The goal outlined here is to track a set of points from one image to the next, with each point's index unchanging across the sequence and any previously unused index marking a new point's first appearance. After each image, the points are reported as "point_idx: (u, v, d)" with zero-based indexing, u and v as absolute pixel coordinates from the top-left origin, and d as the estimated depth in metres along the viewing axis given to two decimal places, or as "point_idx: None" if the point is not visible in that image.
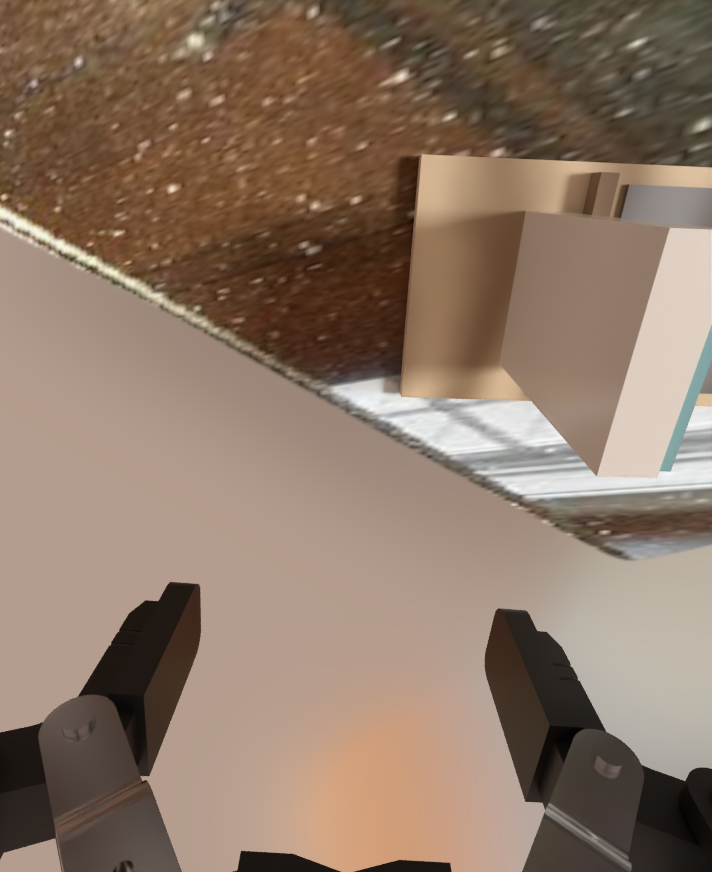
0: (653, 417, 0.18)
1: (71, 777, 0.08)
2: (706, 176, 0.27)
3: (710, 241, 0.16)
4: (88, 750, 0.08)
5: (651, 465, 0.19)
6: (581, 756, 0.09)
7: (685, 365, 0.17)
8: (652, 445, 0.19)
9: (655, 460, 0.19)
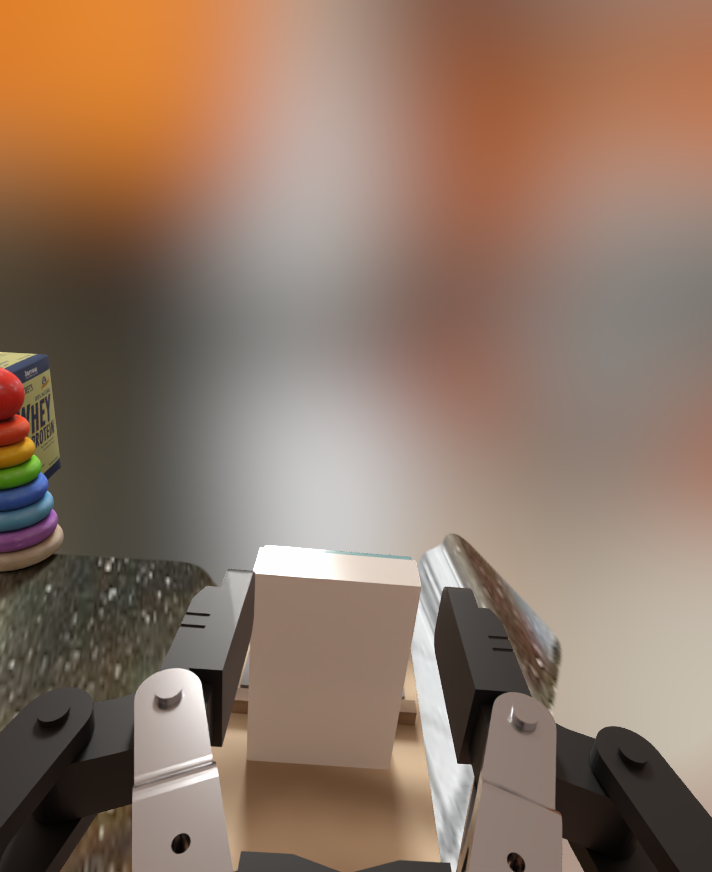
0: (372, 566, 0.28)
1: (171, 740, 0.09)
2: None
3: (263, 558, 0.28)
4: (172, 720, 0.09)
5: (407, 563, 0.28)
6: (500, 716, 0.10)
7: (336, 558, 0.28)
8: (392, 564, 0.28)
9: (403, 562, 0.28)
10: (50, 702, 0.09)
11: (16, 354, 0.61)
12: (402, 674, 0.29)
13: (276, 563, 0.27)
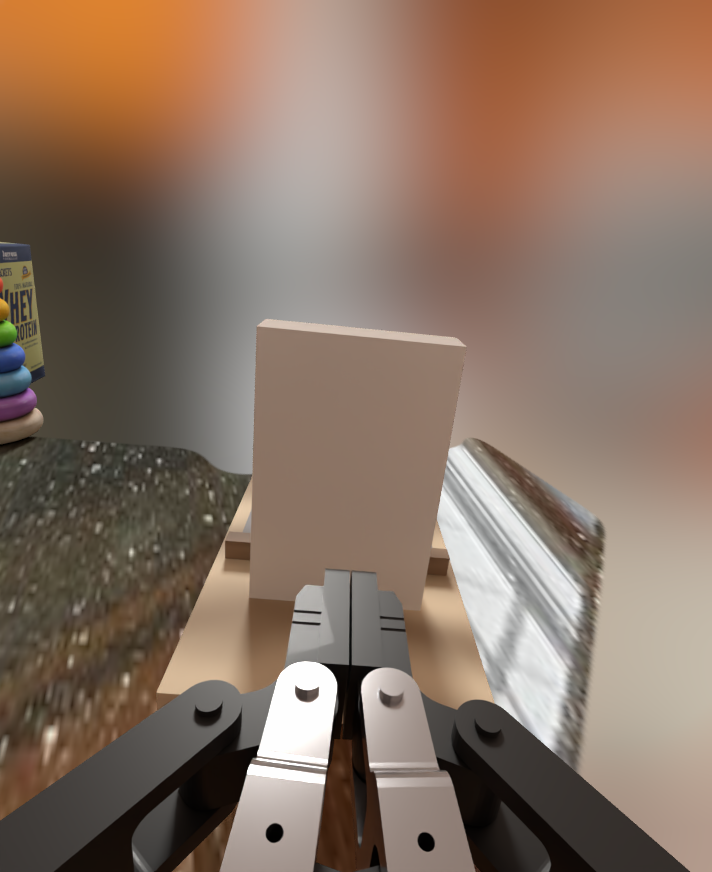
0: (404, 335, 0.23)
1: (323, 730, 0.09)
2: (246, 505, 0.35)
3: (270, 323, 0.22)
4: (302, 712, 0.09)
5: (446, 338, 0.23)
6: (367, 689, 0.10)
7: (359, 329, 0.23)
8: (428, 336, 0.23)
9: (440, 337, 0.23)
10: (208, 692, 0.09)
11: None
12: (439, 476, 0.24)
13: (286, 325, 0.22)
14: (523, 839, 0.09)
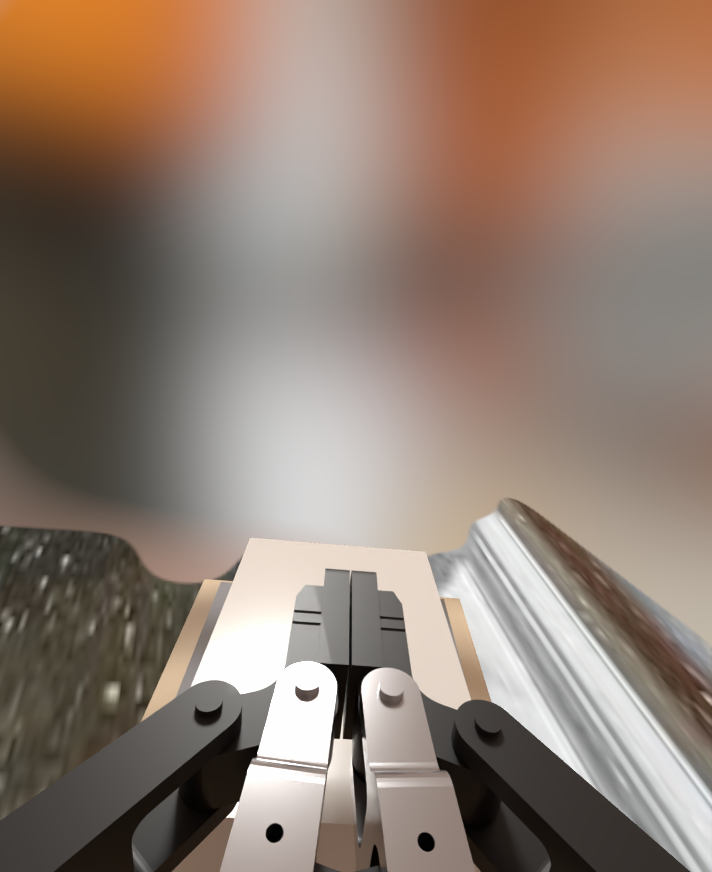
0: None
1: (323, 730, 0.09)
2: (174, 670, 0.21)
3: None
4: (302, 712, 0.09)
5: None
6: (367, 689, 0.10)
7: None
8: None
9: None
10: (208, 692, 0.09)
11: None
12: (444, 628, 0.20)
13: None
14: (523, 839, 0.09)
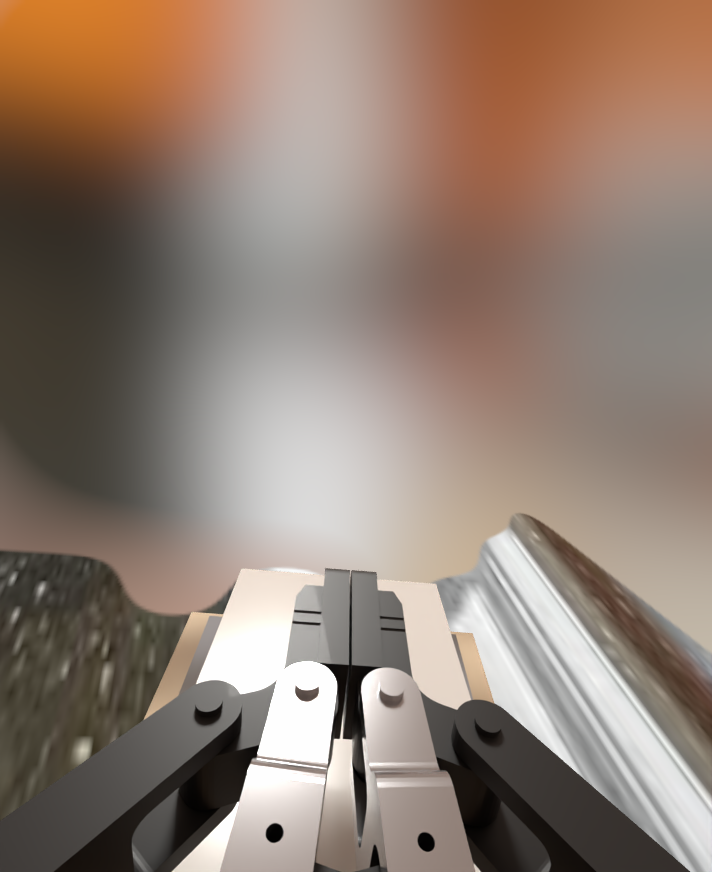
0: None
1: (323, 730, 0.09)
2: None
3: None
4: (302, 712, 0.09)
5: None
6: (367, 689, 0.10)
7: None
8: None
9: None
10: (208, 692, 0.09)
11: None
12: (460, 682, 0.17)
13: None
14: (523, 839, 0.09)
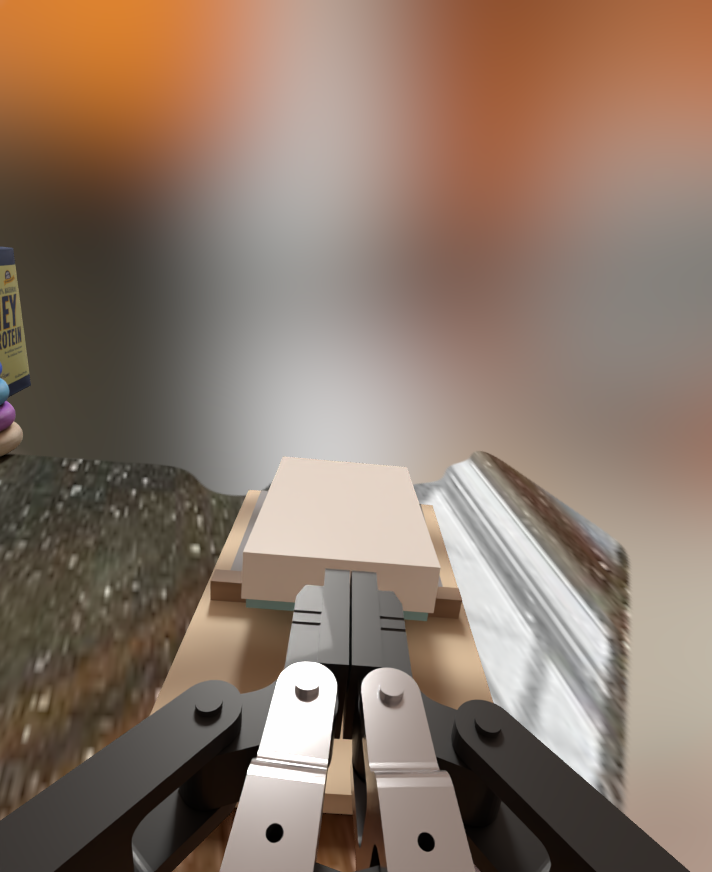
0: None
1: (323, 730, 0.09)
2: (236, 534, 0.32)
3: None
4: (302, 712, 0.09)
5: None
6: (367, 689, 0.10)
7: None
8: None
9: None
10: (209, 692, 0.09)
11: None
12: (414, 500, 0.30)
13: None
14: (523, 839, 0.09)
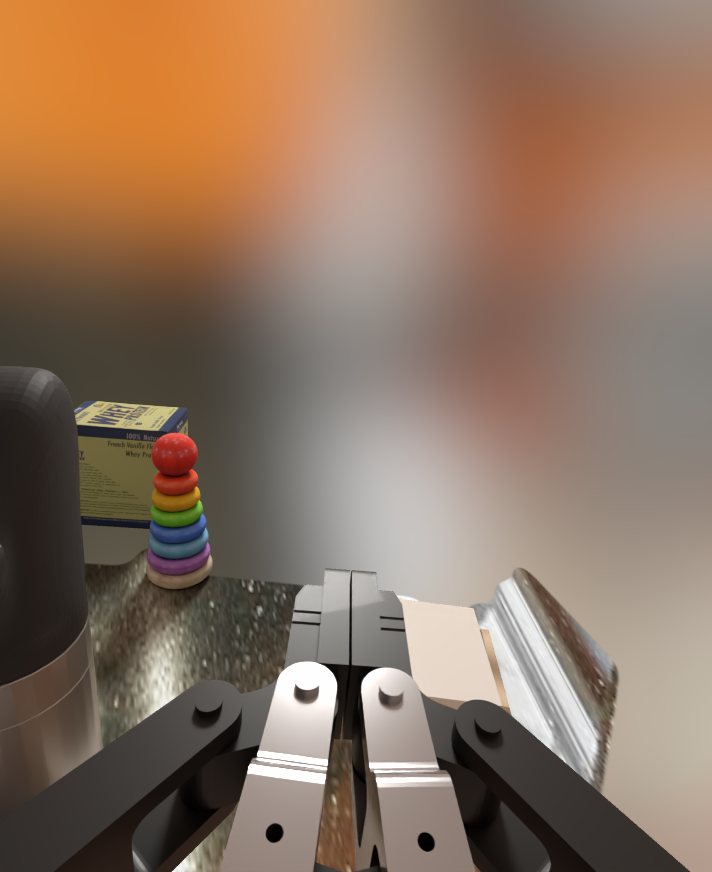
0: None
1: (323, 730, 0.09)
2: None
3: None
4: (302, 712, 0.09)
5: None
6: (367, 689, 0.10)
7: None
8: None
9: None
10: (208, 692, 0.09)
11: (164, 408, 0.75)
12: (482, 644, 0.50)
13: None
14: (523, 839, 0.09)
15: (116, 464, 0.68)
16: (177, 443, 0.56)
